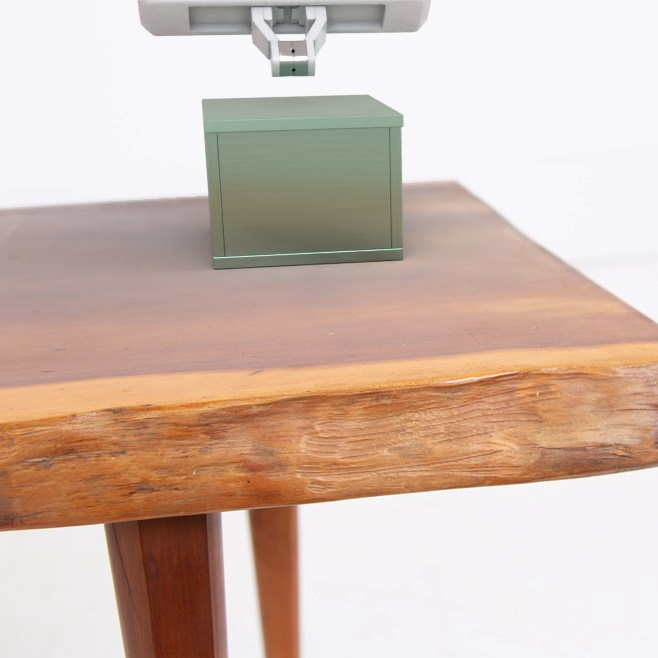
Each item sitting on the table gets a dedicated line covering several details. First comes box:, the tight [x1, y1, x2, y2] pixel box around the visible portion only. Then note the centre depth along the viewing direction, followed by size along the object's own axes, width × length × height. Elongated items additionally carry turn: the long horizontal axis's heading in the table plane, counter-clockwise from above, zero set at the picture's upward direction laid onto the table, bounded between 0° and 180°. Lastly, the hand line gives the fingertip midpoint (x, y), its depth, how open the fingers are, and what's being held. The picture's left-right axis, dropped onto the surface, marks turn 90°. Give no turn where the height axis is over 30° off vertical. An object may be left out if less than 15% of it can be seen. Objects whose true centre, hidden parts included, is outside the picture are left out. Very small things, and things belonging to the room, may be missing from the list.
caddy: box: [202, 125, 404, 270], centre depth 80 cm, size 15×13×9 cm
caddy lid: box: [201, 94, 405, 134], centre depth 78 cm, size 15×13×1 cm
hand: (293, 70), depth 75 cm, fingers closed
